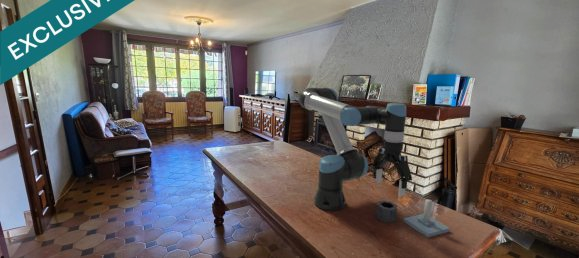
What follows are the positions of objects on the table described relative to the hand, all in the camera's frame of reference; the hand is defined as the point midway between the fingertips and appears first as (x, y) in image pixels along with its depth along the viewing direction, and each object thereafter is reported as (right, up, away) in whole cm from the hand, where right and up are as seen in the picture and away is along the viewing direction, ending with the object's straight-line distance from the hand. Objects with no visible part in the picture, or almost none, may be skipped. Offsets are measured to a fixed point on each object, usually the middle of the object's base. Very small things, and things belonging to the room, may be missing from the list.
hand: (389, 188), depth 107 cm
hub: (0, -13, +3) cm, 14 cm away
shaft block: (+14, -15, -3) cm, 21 cm away
